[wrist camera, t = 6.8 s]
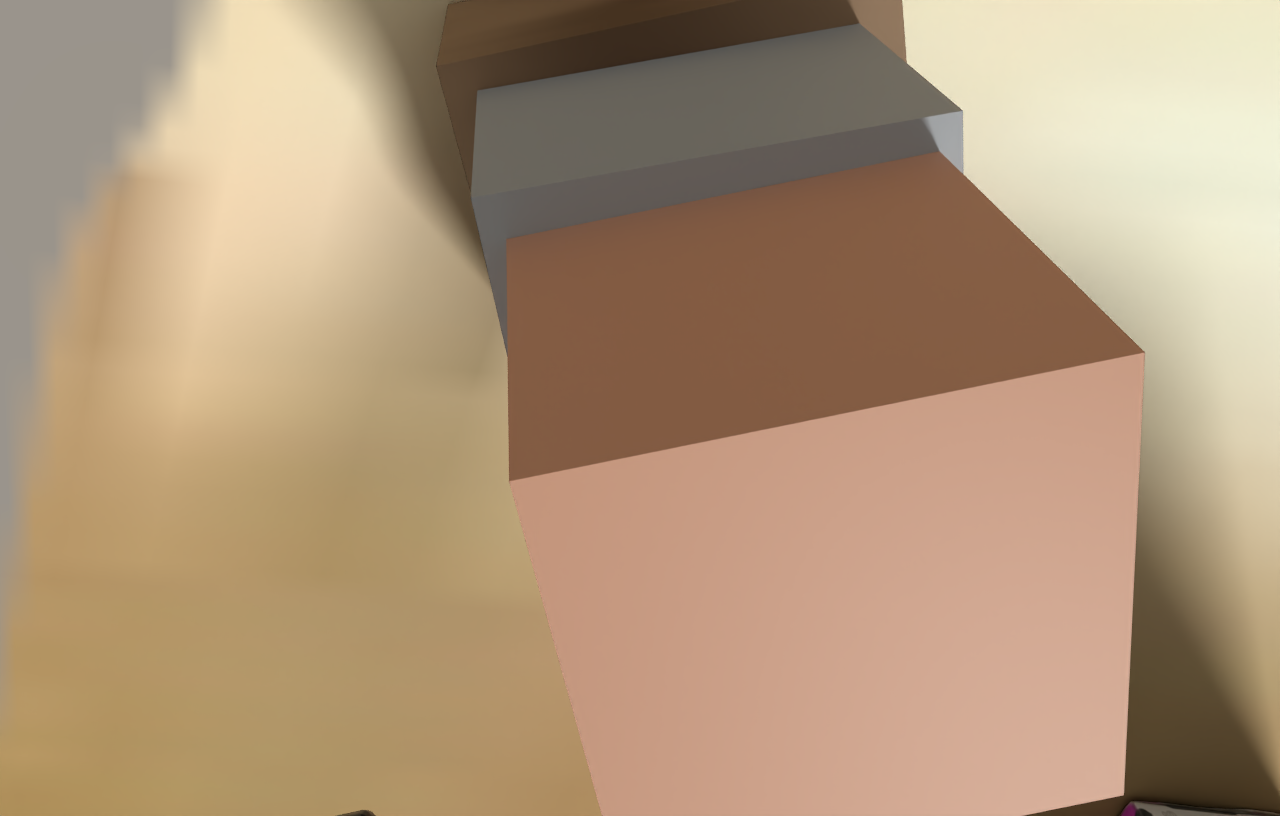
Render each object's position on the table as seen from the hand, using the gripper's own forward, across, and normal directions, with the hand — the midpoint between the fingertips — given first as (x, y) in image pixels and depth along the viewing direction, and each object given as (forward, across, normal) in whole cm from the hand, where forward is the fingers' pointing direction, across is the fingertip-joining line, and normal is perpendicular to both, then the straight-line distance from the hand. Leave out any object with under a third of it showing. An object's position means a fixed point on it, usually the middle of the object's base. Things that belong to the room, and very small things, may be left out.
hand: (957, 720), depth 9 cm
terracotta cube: (+5, +1, 0) cm, 5 cm away
